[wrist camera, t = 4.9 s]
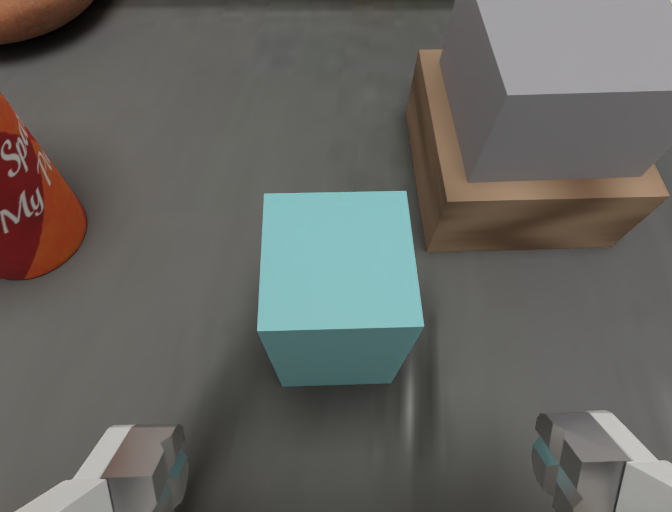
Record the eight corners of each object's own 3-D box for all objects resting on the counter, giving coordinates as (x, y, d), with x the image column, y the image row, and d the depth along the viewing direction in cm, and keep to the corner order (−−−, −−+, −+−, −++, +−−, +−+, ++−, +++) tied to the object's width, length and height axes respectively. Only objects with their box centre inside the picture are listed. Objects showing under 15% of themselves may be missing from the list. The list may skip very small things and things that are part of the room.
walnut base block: (425, 255, 24) (447, 201, 19) (404, 118, 28) (418, 49, 24) (607, 249, 24) (669, 196, 20) (557, 115, 29) (598, 47, 24)
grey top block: (467, 182, 20) (507, 95, 16) (439, 62, 24) (464, -37, 19) (641, 176, 20) (728, 88, 16) (585, 58, 24) (643, -40, 20)
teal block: (282, 386, 20) (256, 331, 13) (284, 286, 23) (264, 193, 15) (391, 383, 20) (424, 326, 13) (382, 284, 23) (406, 190, 16)
